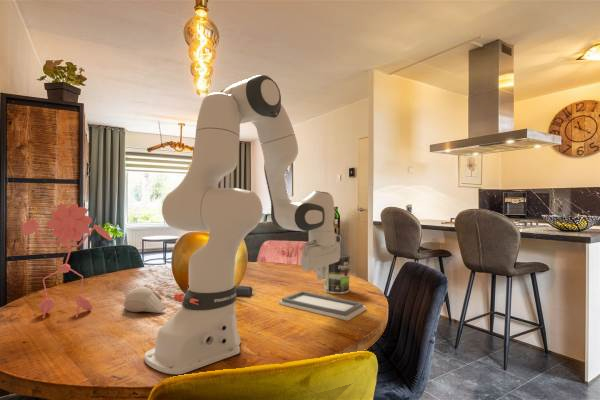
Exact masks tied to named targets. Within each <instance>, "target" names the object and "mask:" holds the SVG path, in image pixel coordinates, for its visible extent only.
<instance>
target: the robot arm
mask: <svg viewBox="0 0 600 400" xmlns="http://www.w3.org/2000/svg"><path fill="white" fill-rule="evenodd" d="M197 116H198V117H197V121H196V126H195V137H194V145H193V146H194V147H193V154H192V160H191V163H190V165H189V169H188V171H187V172H186V174H185V176H184V178H183V179H182V181H181V182H180V184H179V185H178V186H177V187H175V188H174V189H173V190H172V191H170V192H169V193H168V194H167V195H166V196H165V197H164V199H163V201H162V205H161V215H162V217H163V219H164V222H165V223H166V224H167V226H168V227H170V228H173V229H176V230H180V231H184V232H202V233H203V232H205V233H207V232H209V234H208V235H209V236H208V240H207V243H206V244H205V245H203V246H202V247H200V248H198V249H197V250H195V251H194V252H193V253H192V254H191V255H190V258H189V260H188V285H189V288H188V287H187V288H188V289H186V291H185V293H180V292H178V291H177V292H175V293H174V295H173V296H172V298H173V301H175V302H178V303H181V307H180V308H179V309H178V310H177V311H176V312H175V313H174V314H173V315H172V316H171V317H170V318H169V319H168V320H167V321H166V322H165V323H164V324H163V325H162V326H161V327H160V328H159V329H158V332H157V335H156V340H155V346H154V347H153V348H151V349H150V350H148V351H145V353H144V362H145V363H146V365H148V366H149V367H150V368H153V369H154V370H156V371H159V372H161V373H163V374H168V375H183V374H186V373H188V372H191V371H194V370H197V369H199V368H202V367H205V366H207V365H211V364H213V363H216V362H218V361H222V360H225V359H228V358H230V357H233V356H235V355H238V354H240V350H241V349H240V344H241V337H240V335H239V334H240V333H239V330H238V323H237V318H236V308H235V305H236V304H235V302H236V301H237V295H236V286H237V285H235V267H236V259H237V253H238V250H239V249H240V248H239V247H240V245H241V243H242V242H243V240H244V239H245V237H246V236H247V235H249V233H250V232H252V231H254V229H256V228H257V227H258V225H259V223H260V221H261V220H262V216H263V204H262V201H261V199H260V198H259V196H258V194H257V193H256V192H255V191H252V190H247V189H243V188H238V187H218V186H219V183H220V182H221V181H222V179H224V177H226V176H228V175H230V174H231V173H233V171H235V170H236V168H237V166H238V162H239V151H240V136H241V135H240V134H241V129H240V128H241V127H240V126H241V124H246V123H252V124H253V125H254V128H256V132H257V137H258V141H259V143H260V147H261V151H262V155H263V162H264V163H263V170H264V171H263V172H264V177H265V182H266V185H267V190H268V196H269V199H270V200H269V201H270V218H271V222H272V224H273V225H274V227H276V228H277V229H279V230H280V231H281V230H282V231H296V232H298V231H300V232H308V241H306V242H305V244H304V245H303V248H302V251H301V257H300V258H301V259H300V268H301V270H302V271H305V272H306V271H307V272H312V271H315V273H316V279H317V280H318V281H322V280H324V279H325V278H326V272H327V269H328V265H330V264H333V263H336V262H338V261H339V259H340V254H341V242H342V237H341V235H339V234H337V233H335V227H334V226H335V225H334V222H335V202H334V197H333V195H332V194H331V193H329V192H325V191H319V190H315V191H314V190H313V191H311V192H310V194H309V195H308V196H307V197H305V198H303V199H301V200H299V201H292V200H291V199H290V198H289V194H288V191H287V190H288V189H287V186H286V185H287V184H286V180H285V173H286V170H287V169H288V168H289V167H290V166H291V165H292V164H293V163H294V161H296V159H297V158H298V157H297V156H298V154H299V147H298V141H297V137H296V134H295V131H294V128H293V125H292V122H291V119H290V117H289V115H288V112H287V111H286V109H285V107H284V106H283V104H282V94H281V91H280V88H279V86H278V84H277V83H276V82H275V81H274V80H273V78H272V77H270V76H268V75H263V74H262V75H261V74H260V75H255V76H252V77H250V78H248V79H244V80H242V81H238V82H235V83H233V84H232V85H230V86H229V87H227V88H225V89H223V90H221V91H220V92H212V93H210V94H207V95H206V96H205V97H204V98H203V99H202V101H201V105H200V107H199V111H198V115H197Z"/></svg>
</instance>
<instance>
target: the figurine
mask: <svg viewBox="0 0 600 400" xmlns="http://www.w3.org/2000/svg"><path fill="white" fill-rule="evenodd" d="M87 212H88V209H87V207H85V206H83V207H82V206H79V205H78V204H77V203H72V204H71V205H69V206H68V207H67V206H66V205H65V204H64V203H60V204H58V206H57V210H53V211H51V218H52V219H51V220H47V222H46V226H47V227H48V228H49V229H50V230H51V229H52V233H51V235H52V236H53V237H55V238H57V237H58V238H60V239H58V240H50V241H48V240H47V241H41V240H40V237H39V232H38V228H39V221H38V220H37V219H36V218H32V219H29V220H27V221H26V222H24V223H23V224H22V226H21V232H22V234H23V236H25V237H26V236H29V235H31V234H33V233H35V235H36V241H37V244H38V245H43V244H45V245H46V244H52V243H59V244H62V245H64V246H66V247H68V248H69V250H68V254H67V256H66V260H65V263H63V264H61V265H60V267H59V270H57V271H55V272H53V273H50V274H49V275H48V276H45V277H43V278H42V283H43V284H42V285H43V289H44V293H45V298H44V299H42V301H41V302H40V304H39V306H38V307H39V311H40V312H42V318H43V319H45V317H46V314H48V313H50V312H51V311H52V310H53V309H54V307H55V300H54V298H51V297H48V293H47V288H46V283H45V279H48V278H49V277H51V276H53V275H55V274H57V273H59V272H61V273H63V274H65V273H69V272H70V271H71V272H73V273H74V274H76V275H77V276H79V277H81V282H80V283H81V285H80V296H79V297H78V296H77V297H76V298H75V303H76V304H77V309H76V314H75V318H78V317H79V313H80V308H81V309H83V310H86V311H89V312H90V311H92V310H93V305H92V303H91V302H90V301H89V300H88V299H86V298H85V297H83V283H84V276H83V275H82V274H80V273H78V272H77V271H75V270H74V269H72V268H71V265H70V264H68V261H69V258H70V256H71V252H72V250H73V248H72V246H73V247H77V248H80V246H82V244H83V243H84V242H85V241H86V240H87V238H88V237H89V236H90V235H91V233H92V232H94V230H95V231H96V232H97V233H98V234H99V235H100V236H102V237H103V238H105V239H106V240H109V241H110V242H112V237H111V235H110V234H109V232H108V231H107V230H105V229H104V228H102V227H101V226H99V225H97V224H94V225H93V227H92V228H91V229H90V226H89V224H92V223H93V219H92V218H91V217H90V216H89V215H86V213H87ZM83 234H86V235H85V236H84V237H83ZM72 238H73V240H74V241H77V242H79V243H78V244H76V243H72V242H69V241H70V240H71V239H72Z"/></svg>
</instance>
